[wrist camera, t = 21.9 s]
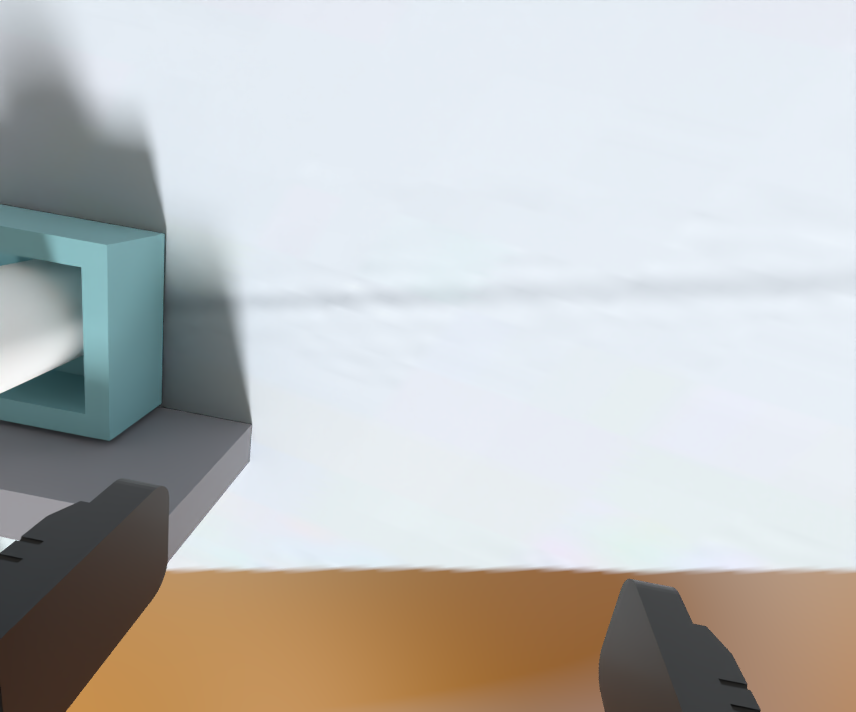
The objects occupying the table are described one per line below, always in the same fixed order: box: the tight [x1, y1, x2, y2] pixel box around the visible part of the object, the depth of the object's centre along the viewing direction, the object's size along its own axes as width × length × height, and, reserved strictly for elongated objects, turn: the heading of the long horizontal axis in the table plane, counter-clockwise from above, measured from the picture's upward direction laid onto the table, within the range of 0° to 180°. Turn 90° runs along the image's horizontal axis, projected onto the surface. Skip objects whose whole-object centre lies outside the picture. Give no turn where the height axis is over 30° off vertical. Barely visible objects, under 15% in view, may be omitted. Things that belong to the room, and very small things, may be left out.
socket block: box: [0, 204, 165, 441], centre depth 36 cm, size 12×12×6 cm
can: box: [0, 259, 84, 393], centre depth 32 cm, size 6×6×12 cm
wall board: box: [0, 406, 252, 563], centre depth 36 cm, size 3×18×12 cm, turn 81°
